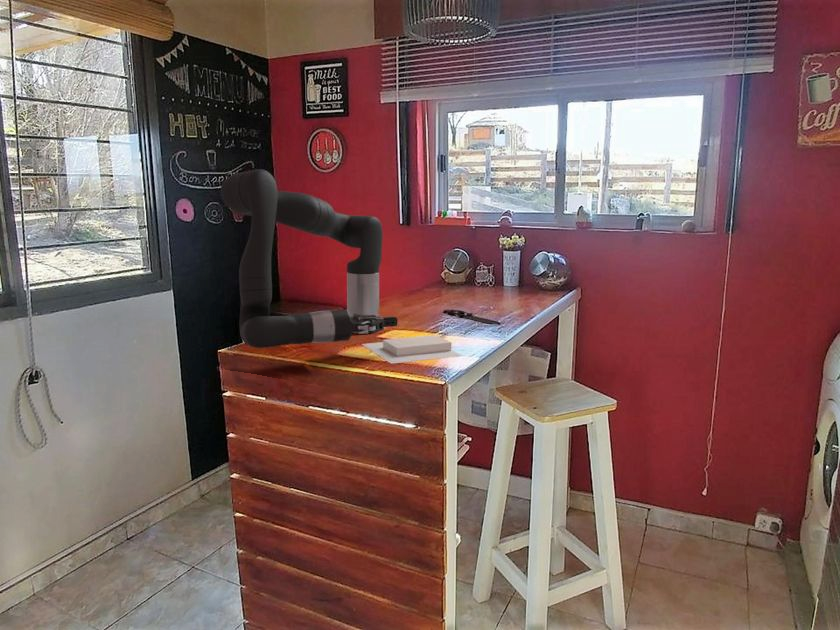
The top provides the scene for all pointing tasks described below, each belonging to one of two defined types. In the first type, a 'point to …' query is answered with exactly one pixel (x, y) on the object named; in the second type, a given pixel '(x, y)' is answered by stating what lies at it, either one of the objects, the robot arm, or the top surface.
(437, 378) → the top surface
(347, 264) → the robot arm
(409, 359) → the mat
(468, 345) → the top surface
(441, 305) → the top surface
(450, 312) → the knife
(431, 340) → the tile
